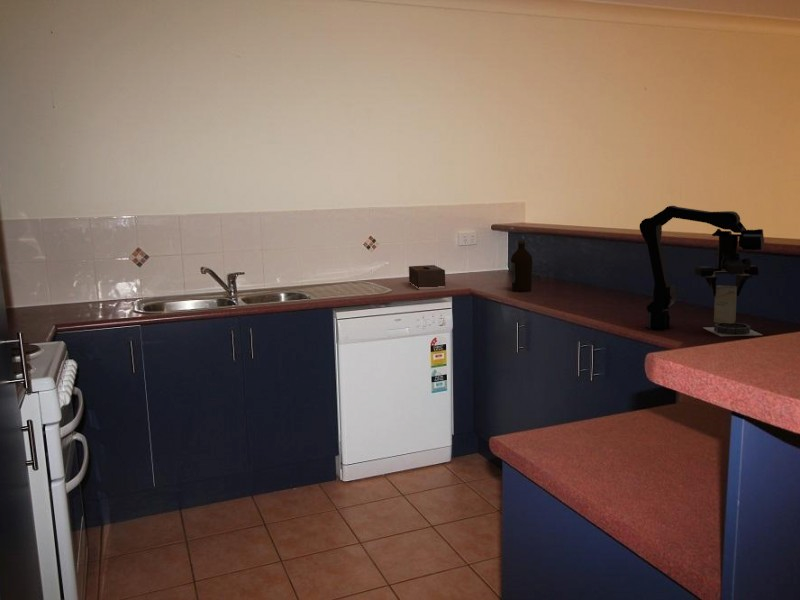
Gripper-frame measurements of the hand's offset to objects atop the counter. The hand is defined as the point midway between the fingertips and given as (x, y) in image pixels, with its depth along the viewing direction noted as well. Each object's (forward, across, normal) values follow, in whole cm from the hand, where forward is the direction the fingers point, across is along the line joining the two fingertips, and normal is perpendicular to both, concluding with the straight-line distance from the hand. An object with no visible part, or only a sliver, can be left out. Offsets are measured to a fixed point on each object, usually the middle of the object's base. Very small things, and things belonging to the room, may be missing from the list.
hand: (725, 296), depth 222 cm
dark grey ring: (+13, +4, +3) cm, 14 cm away
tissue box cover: (+13, -101, +133) cm, 168 cm away
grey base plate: (+13, +4, +3) cm, 14 cm away
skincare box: (+9, 0, 0) cm, 9 cm away
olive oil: (+13, -53, +108) cm, 121 cm away
